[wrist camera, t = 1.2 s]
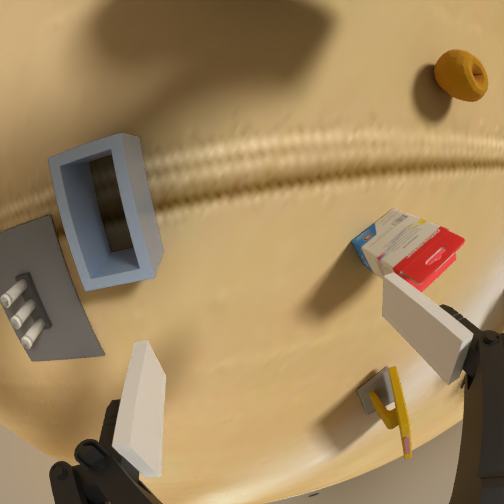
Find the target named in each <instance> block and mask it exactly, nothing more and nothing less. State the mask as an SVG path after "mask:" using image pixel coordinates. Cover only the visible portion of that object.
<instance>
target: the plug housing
mask: <svg viewBox="0 0 504 504" xmlns="http://www.w3.org/2000/svg"><path fill="white" fill-rule="evenodd" d="M109 155H112V157H113V162H114V167H115V172H116V177H117V182H118V186H119V191H120V195H121V200H122V204H123V208H124V212H125V216H126V220H127V224H128V228H129V232H130V236H131V239H132V243H133V246H134V247H133V248H129V249H124V250H120V251H116V252H111V250H110V246H109V243H108V239H107V236H106V232H105V229H104V225H103V221H102V218H101V214H100V210H99V206H98V202H97V197H96V193H95V189H94V184H93V179H92V175H91V170H90V165H89V162H90V161H93V160H96V159H99V158H102V157H106V156H109ZM48 162H49V167H50V173H51V178H52V182H53V187H54V192H55V196H56V200H57V204H58V208H59V212H60V216H61V220H62V223H63V227H64V230H65V234H66V237H67V241H68V244H69V247H70V250H71V253H72V256H73V259H74V262H75V265H76V268H77V271H78V274H79V276H80V279H81V282H82V284H83V287H84V290H85V292H86V291H91V290H96V289H101V288H106V287H111V286H116V285H121V284H126V283H131V282H136V281H141V280H146V279H151V278H155V276H156V273H157V270H158V267H159V264H160V261H161V258H162V255H163V252H164V248H163V245H162V241H161V237H160V233H159V229H158V224H157V220H156V216H155V212H154V207H153V203H152V198H151V194H150V189H149V184H148V180H147V175H146V170H145V165H144V159H143V154H142V148H141V143H140V137H139V136H135V135H130V134H126V133H118V134H115V135H111V136H108V137H105V138H102V139H99V140H95V141H92V142H90V143H87V144H84V145H81V146H78V147H75V148H73V149H70V150H67V151H65V152H62V153H59V154H57V155H54V156H52V157H49V158H48Z"/></svg>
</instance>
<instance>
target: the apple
mask: <svg viewBox="0 0 504 504" xmlns="http://www.w3.org/2000/svg"><path fill="white" fill-rule="evenodd" d="M434 76H435V79H436V81H437V83H438V85H439V86H440V87H441V88H442V89H444V90H445V91H446V92H447V93H448V94H450V95H451V96H452V97H454V98H457V99H460V100H463V101H469V102H474V101H477V100H479V99H481V98H482V97H483V96H484V94H485V93H486V91H487V88H488V78H487V74H486V71H485V69H484V67H483V65H482V63H481V62H480V61H479V60H478V58H476V57H475V56H473V55H472V54H470V53H469V52H467V51H463V50H450V51H447V52H446V53H444V54H443V55H442V56H441V57H440V58H439V60H438V61H437V63H436V65H435V68H434Z"/></svg>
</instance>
